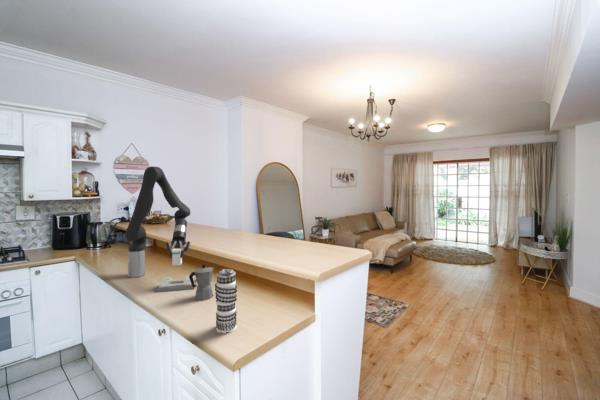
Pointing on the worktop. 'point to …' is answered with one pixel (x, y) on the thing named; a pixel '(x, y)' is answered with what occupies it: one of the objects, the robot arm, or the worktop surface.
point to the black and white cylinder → (226, 301)
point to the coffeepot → (203, 282)
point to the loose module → (176, 257)
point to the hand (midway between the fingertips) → (176, 257)
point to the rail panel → (175, 284)
